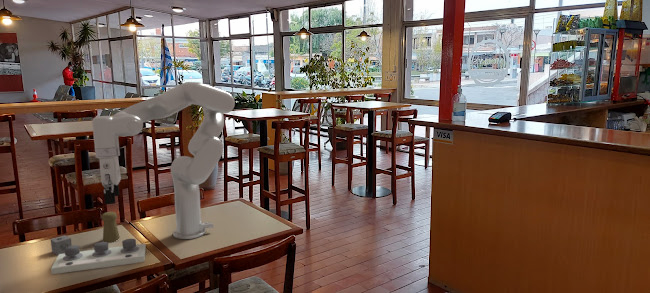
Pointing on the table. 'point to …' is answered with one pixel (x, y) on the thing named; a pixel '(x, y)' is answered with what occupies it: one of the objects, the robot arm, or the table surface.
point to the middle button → (101, 247)
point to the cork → (110, 227)
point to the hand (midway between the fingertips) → (112, 199)
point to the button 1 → (72, 250)
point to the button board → (99, 259)
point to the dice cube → (60, 244)
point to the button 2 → (129, 243)
